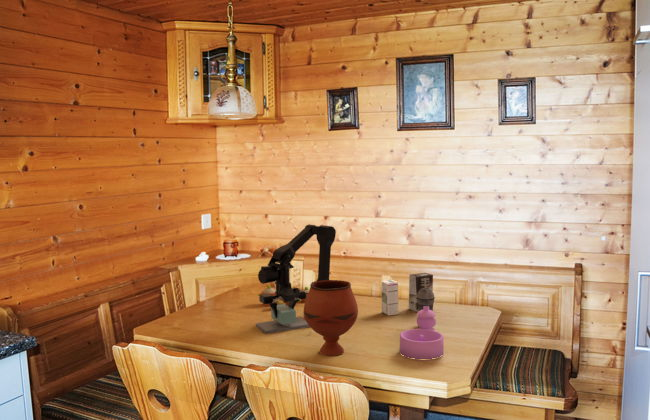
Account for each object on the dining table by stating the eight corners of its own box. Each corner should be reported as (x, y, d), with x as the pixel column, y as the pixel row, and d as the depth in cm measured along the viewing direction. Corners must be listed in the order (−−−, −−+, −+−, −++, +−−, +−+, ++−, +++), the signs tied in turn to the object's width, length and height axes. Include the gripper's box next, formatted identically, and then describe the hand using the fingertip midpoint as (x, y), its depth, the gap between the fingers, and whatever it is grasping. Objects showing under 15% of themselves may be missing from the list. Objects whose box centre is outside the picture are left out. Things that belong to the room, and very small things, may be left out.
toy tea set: (275, 312, 259) (274, 291, 258) (254, 306, 270) (254, 286, 269) (317, 302, 277) (317, 282, 276) (297, 296, 288) (296, 277, 287)
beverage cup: (436, 323, 238) (436, 276, 236) (432, 328, 232) (432, 280, 230) (419, 321, 241) (419, 275, 239) (414, 326, 235) (414, 278, 233)
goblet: (294, 350, 208) (293, 282, 206) (337, 340, 219) (336, 275, 216) (324, 365, 192) (323, 292, 190) (369, 353, 203) (368, 284, 201)
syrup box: (399, 314, 253) (399, 281, 252) (387, 315, 251) (387, 283, 250) (392, 311, 258) (392, 279, 257) (381, 312, 256) (381, 280, 255)
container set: (441, 362, 195) (441, 324, 193) (396, 358, 199) (396, 321, 198) (447, 339, 218) (447, 305, 217) (407, 336, 223) (407, 303, 222)
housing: (284, 315, 244) (284, 303, 243) (296, 322, 233) (295, 310, 232) (271, 317, 241) (271, 305, 240) (282, 324, 230) (282, 312, 230)
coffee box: (416, 312, 256) (417, 276, 254) (408, 309, 262) (408, 274, 260) (433, 309, 260) (433, 274, 259) (424, 306, 266) (424, 272, 264)
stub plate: (299, 319, 247) (299, 309, 247) (311, 326, 236) (311, 316, 236) (255, 326, 238) (255, 316, 238) (265, 333, 227) (265, 323, 227)
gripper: (268, 286, 224) (269, 325, 225) (311, 281, 232) (312, 318, 234) (258, 281, 234) (259, 318, 235) (300, 276, 242) (300, 312, 244)
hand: (283, 317), depth 237 cm, fingers closed on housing, 6 cm apart
